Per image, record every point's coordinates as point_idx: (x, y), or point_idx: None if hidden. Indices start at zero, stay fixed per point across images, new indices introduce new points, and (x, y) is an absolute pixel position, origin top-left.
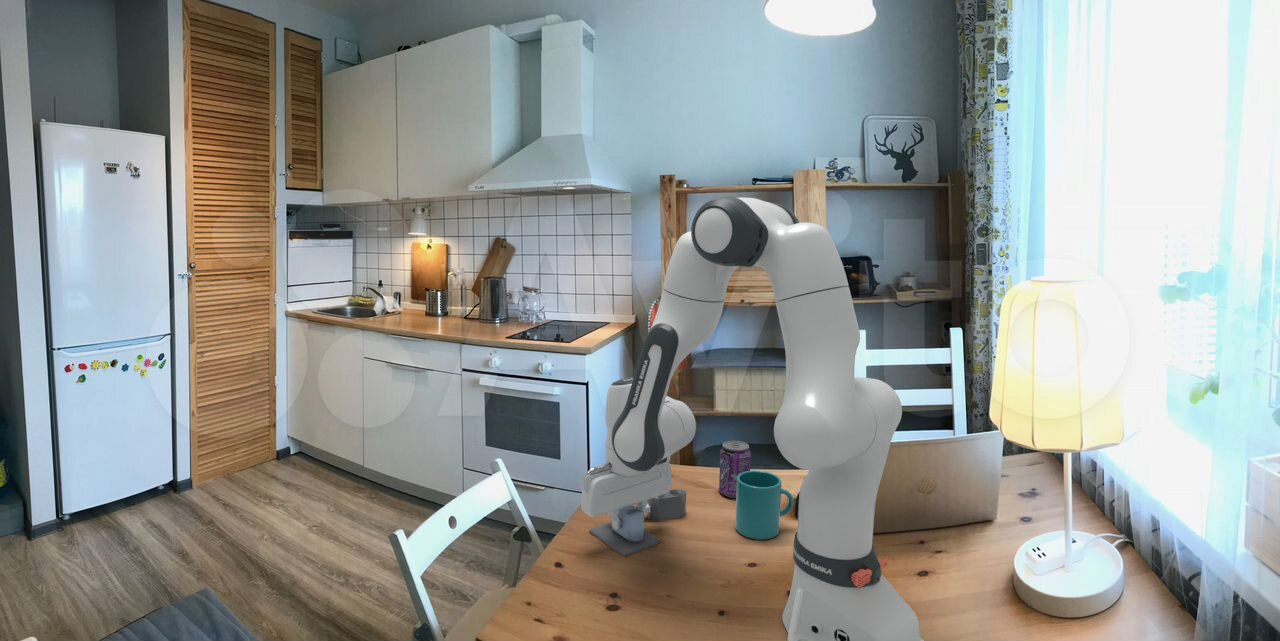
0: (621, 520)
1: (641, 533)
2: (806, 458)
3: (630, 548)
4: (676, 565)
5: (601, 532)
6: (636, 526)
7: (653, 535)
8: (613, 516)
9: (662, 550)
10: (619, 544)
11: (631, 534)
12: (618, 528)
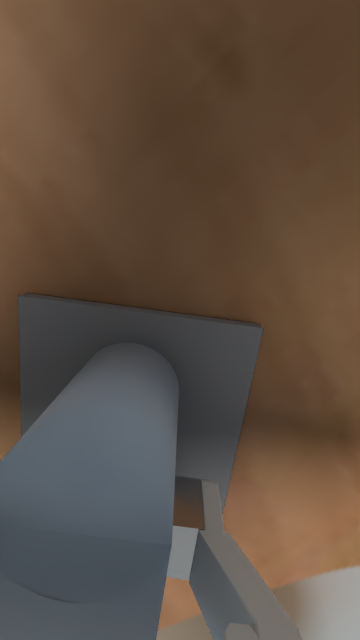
0: (184, 527)
1: (115, 357)
2: None
3: (201, 343)
4: (122, 44)
5: None
6: (143, 400)
7: (21, 351)
8: (283, 613)
9: (72, 230)
10: (211, 405)
11: (172, 392)
12: (207, 481)
